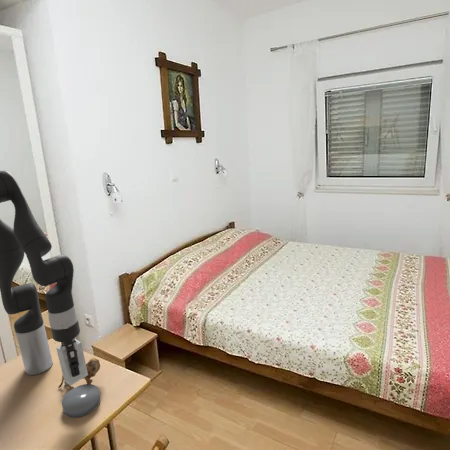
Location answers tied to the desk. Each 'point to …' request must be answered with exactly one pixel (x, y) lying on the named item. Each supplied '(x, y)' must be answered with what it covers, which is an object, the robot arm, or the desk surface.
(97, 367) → the lion figurine
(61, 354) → the skincare box
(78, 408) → the grey rounded flat disc
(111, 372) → the desk surface
